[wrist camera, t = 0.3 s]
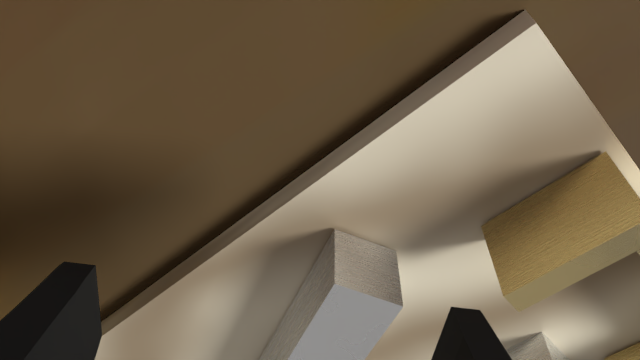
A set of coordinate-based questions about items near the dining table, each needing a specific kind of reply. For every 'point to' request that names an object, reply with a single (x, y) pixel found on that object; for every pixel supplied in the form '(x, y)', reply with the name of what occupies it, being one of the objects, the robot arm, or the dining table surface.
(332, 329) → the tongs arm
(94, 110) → the dining table surface
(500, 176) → the board
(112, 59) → the dining table surface
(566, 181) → the tan wooden arch piece
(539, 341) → the grey long bar
